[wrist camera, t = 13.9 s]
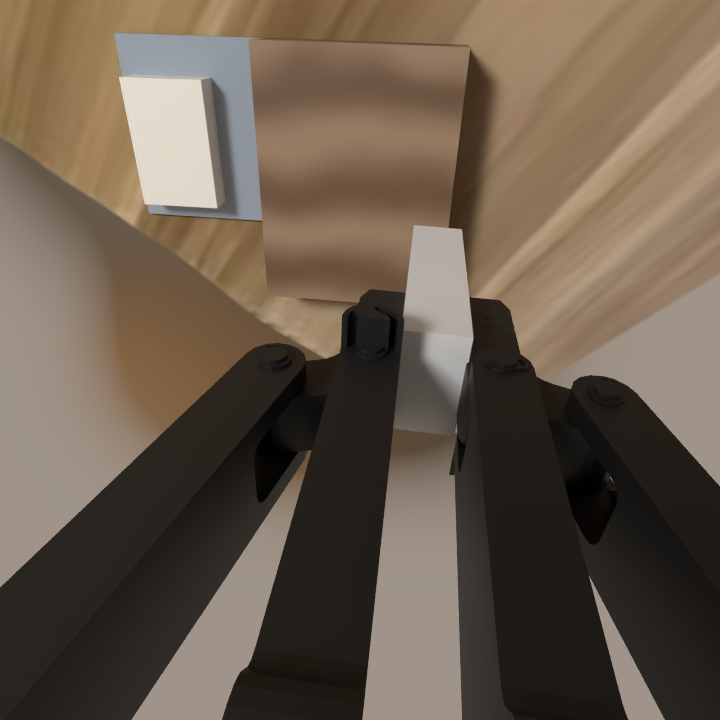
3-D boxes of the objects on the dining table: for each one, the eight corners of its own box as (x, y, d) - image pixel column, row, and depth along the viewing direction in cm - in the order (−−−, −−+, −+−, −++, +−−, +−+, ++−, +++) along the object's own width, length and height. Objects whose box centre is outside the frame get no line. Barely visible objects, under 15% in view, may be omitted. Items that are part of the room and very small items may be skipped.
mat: (116, 32, 38) (114, 32, 37) (265, 38, 37) (264, 38, 36) (150, 212, 45) (149, 213, 44) (276, 220, 44) (275, 221, 43)
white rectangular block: (200, 79, 36) (211, 77, 38) (119, 76, 37) (132, 74, 39) (217, 208, 41) (225, 201, 43) (144, 204, 42) (156, 197, 44)
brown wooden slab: (265, 38, 37) (248, 39, 33) (467, 45, 35) (470, 47, 32) (280, 275, 46) (267, 295, 43) (438, 287, 45) (438, 308, 42)
